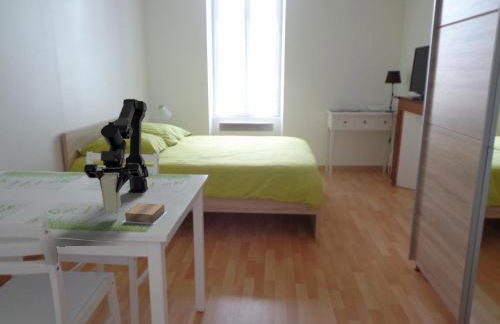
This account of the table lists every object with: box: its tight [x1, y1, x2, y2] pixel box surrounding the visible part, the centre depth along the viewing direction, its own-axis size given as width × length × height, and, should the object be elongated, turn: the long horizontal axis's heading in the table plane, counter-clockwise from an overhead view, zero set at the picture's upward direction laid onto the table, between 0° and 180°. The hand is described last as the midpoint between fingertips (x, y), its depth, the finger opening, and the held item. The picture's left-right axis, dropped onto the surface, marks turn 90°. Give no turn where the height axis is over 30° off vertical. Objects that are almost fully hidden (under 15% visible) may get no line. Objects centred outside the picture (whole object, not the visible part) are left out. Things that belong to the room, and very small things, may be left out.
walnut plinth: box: [124, 202, 165, 223], centre depth 130 cm, size 10×10×3 cm
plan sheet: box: [121, 210, 169, 225], centre depth 131 cm, size 12×12×1 cm
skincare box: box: [100, 173, 122, 213], centre depth 126 cm, size 6×4×12 cm
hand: (109, 192), depth 125 cm, fingers closed on skincare box, 4 cm apart
